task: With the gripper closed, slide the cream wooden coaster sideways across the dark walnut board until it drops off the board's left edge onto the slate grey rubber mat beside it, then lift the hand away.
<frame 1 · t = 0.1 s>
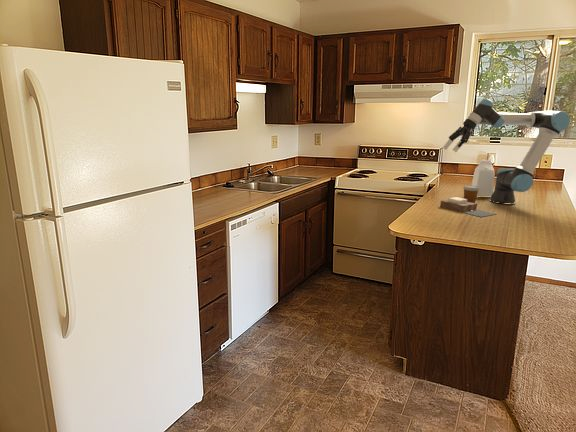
hand: (449, 149, 264), 36 cm above the countertop, tool tilted 35°, fingers open, 13 cm apart
walnut board: (457, 208, 267), on the countertop
coaster: (457, 201, 267), point 4 cm above the countertop, touching walnut board
rubber mat: (479, 213, 255), on the countertop
milk: (480, 196, 309), on the countertop
disposable coffee cup: (469, 204, 280), on the countertop
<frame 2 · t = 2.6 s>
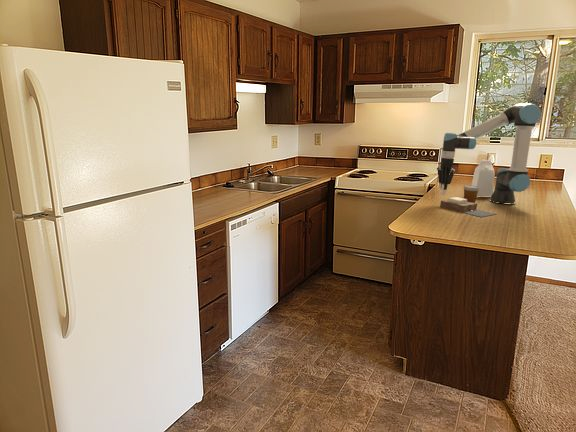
hand: (442, 194, 275), 7 cm above the countertop, tool pointing down, fingers closed
nothing on the countertop moved.
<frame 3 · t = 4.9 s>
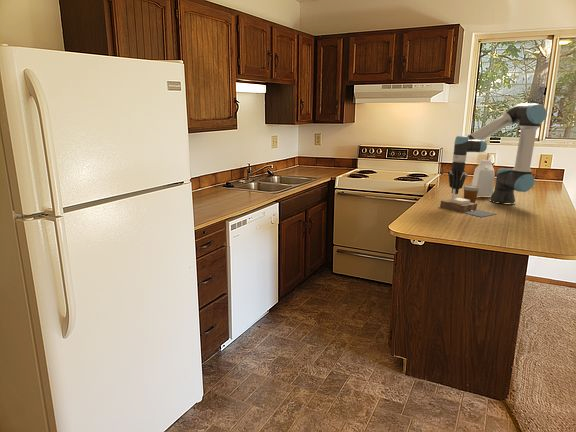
hand: (454, 198, 269), 5 cm above the countertop, tool pointing down, fingers closed
coaster: (460, 202, 265), point 4 cm above the countertop, touching walnut board
everything else where it was.
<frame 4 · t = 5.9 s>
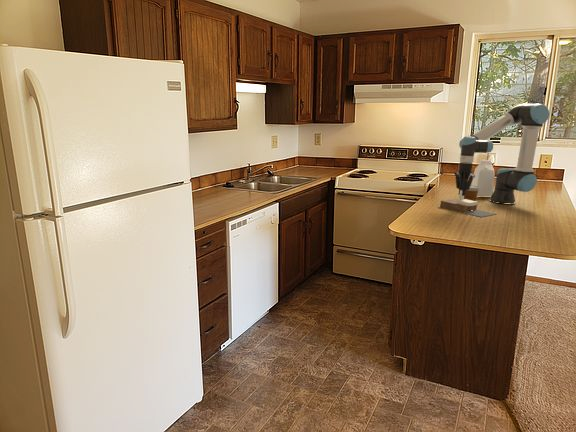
hand: (461, 200, 265), 5 cm above the countertop, tool pointing down, fingers closed
coaster: (467, 204, 261), point 4 cm above the countertop, touching gripper, walnut board
everything else where it was.
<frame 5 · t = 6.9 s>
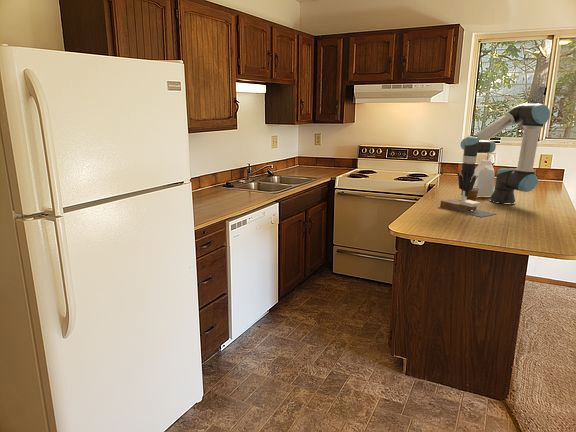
hand: (463, 201, 263), 5 cm above the countertop, tool pointing down, fingers closed
coaster: (470, 204, 260), point 4 cm above the countertop, touching gripper, walnut board
everything else where it was.
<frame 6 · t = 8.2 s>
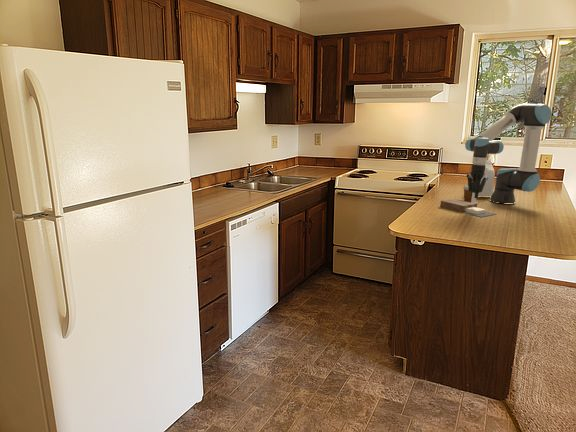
hand: (473, 203, 258), 5 cm above the countertop, tool pointing down, fingers closed
coaster: (475, 212, 257), resting on rubber mat
everything else where it was.
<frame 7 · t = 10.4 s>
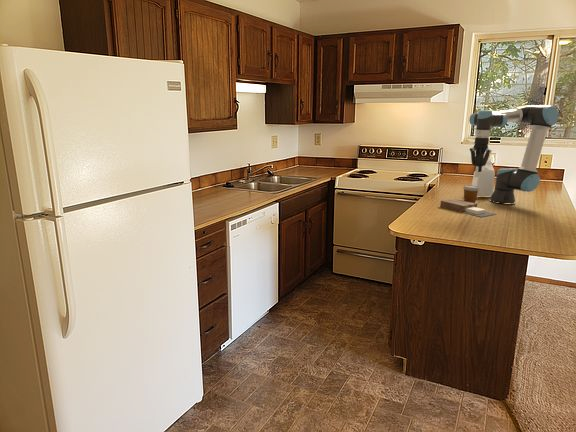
hand: (477, 176, 256), 21 cm above the countertop, tool pointing down, fingers closed
nothing on the countertop moved.
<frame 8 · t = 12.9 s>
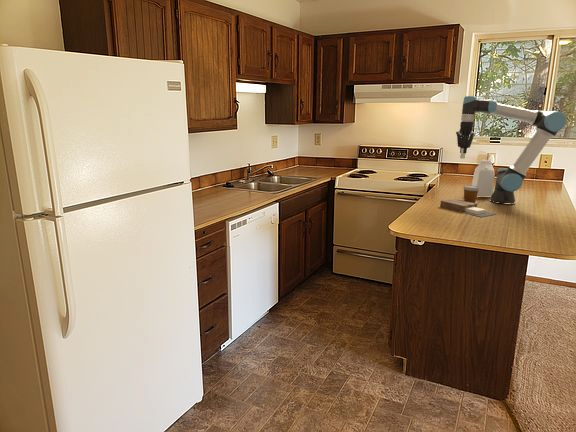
hand: (462, 158, 278), 29 cm above the countertop, tool pointing down, fingers closed
nothing on the countertop moved.
at the end: coaster resting on rubber mat; coaster inside the target area (2.9 cm from its centre), resting on rubber mat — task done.
